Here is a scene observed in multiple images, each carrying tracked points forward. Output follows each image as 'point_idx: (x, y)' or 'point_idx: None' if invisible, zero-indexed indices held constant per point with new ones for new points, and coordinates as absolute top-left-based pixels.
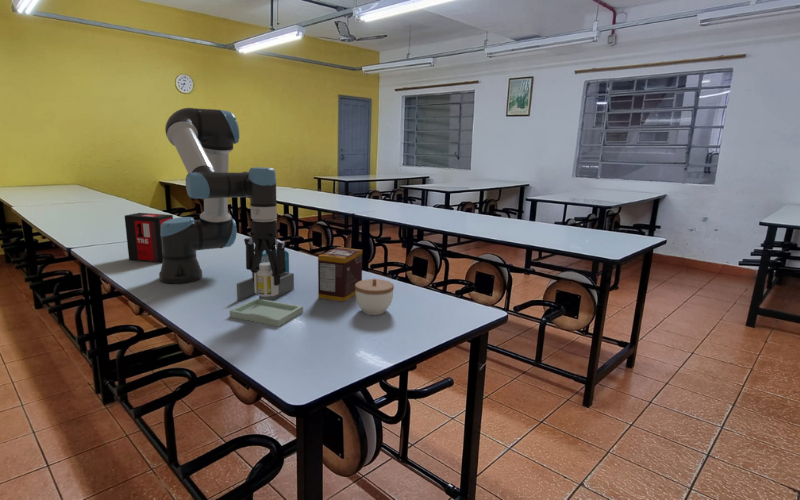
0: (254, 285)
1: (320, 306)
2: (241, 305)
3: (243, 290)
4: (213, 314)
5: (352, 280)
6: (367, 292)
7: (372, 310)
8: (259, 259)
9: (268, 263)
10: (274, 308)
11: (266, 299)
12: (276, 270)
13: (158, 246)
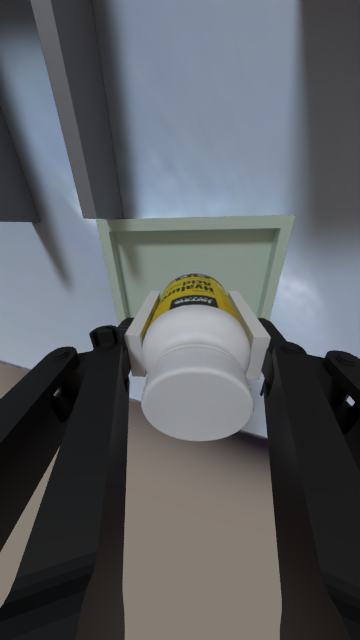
0: None
1: (337, 108)
2: (114, 297)
3: (2, 192)
4: (85, 330)
5: None
6: None
7: None
8: (118, 440)
9: (209, 397)
10: (193, 249)
11: (115, 186)
12: (276, 364)
13: None
